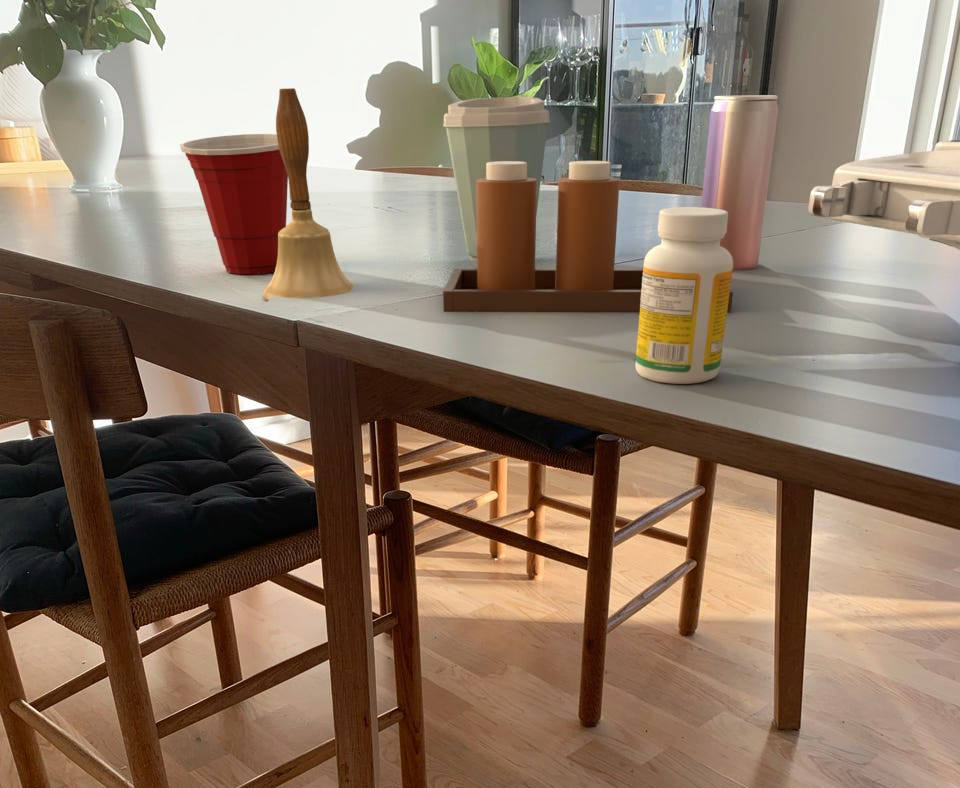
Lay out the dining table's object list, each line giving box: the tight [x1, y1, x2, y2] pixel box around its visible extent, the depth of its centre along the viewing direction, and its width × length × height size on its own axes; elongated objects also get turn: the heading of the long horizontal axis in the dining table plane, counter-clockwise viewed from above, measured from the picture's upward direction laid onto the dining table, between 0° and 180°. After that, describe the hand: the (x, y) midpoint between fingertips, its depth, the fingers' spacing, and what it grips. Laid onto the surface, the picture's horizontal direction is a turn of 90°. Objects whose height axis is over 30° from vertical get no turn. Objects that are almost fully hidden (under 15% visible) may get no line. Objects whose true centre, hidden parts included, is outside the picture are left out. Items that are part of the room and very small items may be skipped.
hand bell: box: [262, 87, 356, 301], centre depth 80 cm, size 8×8×16 cm
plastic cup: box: [179, 133, 289, 275], centre depth 93 cm, size 11×11×12 cm
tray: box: [442, 268, 734, 314], centre depth 79 cm, size 23×11×2 cm, turn 87°
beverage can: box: [700, 94, 779, 272], centre depth 89 cm, size 6×6×15 cm
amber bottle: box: [555, 160, 621, 290], centre depth 76 cm, size 5×5×10 cm
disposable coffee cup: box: [442, 96, 551, 262], centre depth 96 cm, size 11×11×15 cm
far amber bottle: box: [476, 161, 537, 290], centre depth 77 cm, size 5×5×10 cm
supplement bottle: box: [635, 206, 733, 385], centre depth 58 cm, size 5×5×10 cm
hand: (862, 209), depth 59 cm, fingers open, 8 cm apart
